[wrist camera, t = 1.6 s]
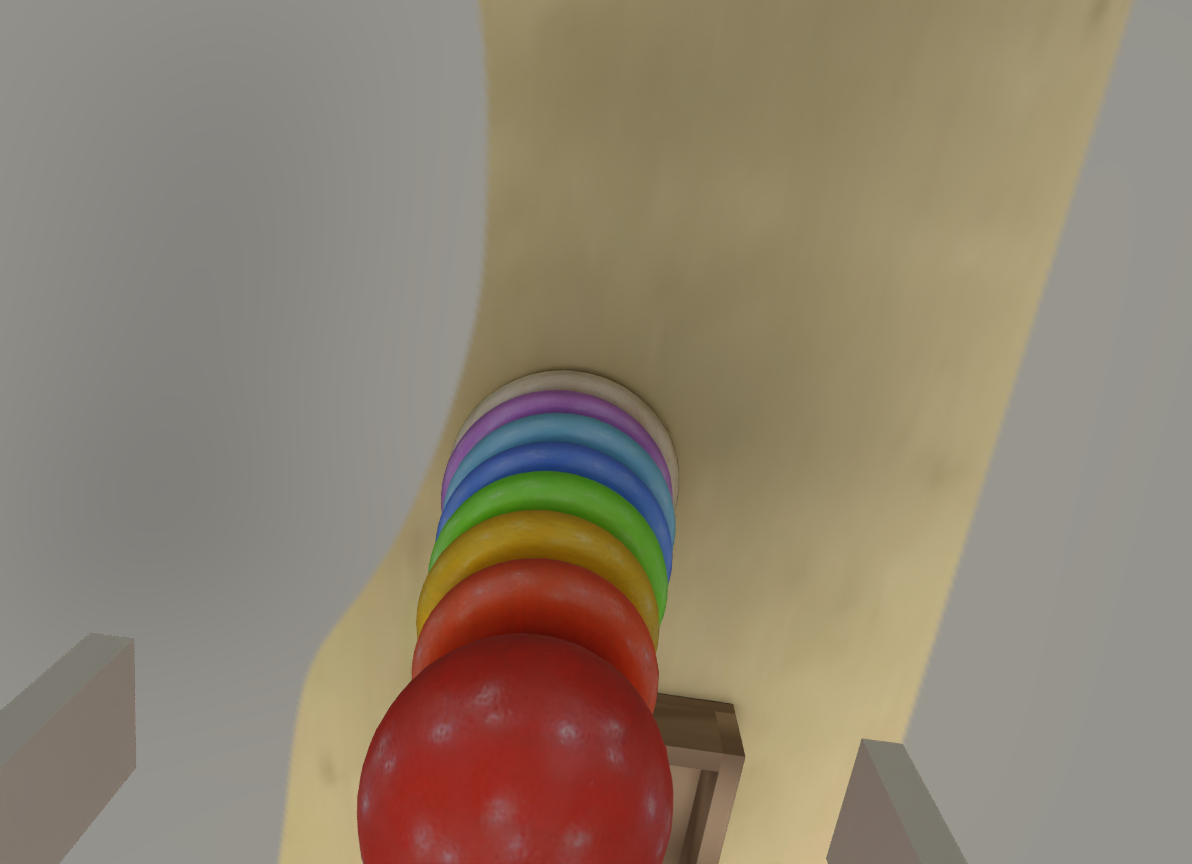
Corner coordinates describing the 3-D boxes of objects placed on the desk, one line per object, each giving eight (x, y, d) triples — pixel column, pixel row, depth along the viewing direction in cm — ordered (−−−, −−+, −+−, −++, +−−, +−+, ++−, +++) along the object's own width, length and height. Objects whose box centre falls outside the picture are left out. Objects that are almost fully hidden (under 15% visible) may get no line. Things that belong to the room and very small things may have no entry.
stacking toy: (700, 542, 29) (838, 1099, 12) (494, 594, 30) (326, 1191, 12) (643, 337, 27) (707, 636, 9) (422, 399, 28) (93, 784, 10)
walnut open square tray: (429, 660, 31) (411, 709, 28) (733, 704, 32) (745, 756, 29) (403, 898, 35) (385, 962, 32) (676, 935, 35) (682, 1002, 32)
